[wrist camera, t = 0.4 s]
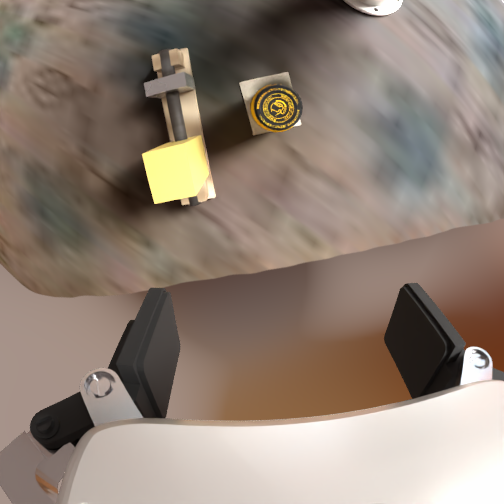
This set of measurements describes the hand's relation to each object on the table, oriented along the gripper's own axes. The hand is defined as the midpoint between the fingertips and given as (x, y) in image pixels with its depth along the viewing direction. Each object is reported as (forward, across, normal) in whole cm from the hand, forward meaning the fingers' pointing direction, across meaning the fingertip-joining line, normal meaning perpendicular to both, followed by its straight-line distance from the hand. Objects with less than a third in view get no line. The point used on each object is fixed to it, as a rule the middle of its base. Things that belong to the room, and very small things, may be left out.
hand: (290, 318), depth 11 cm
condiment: (+35, -2, -10) cm, 36 cm away
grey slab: (+35, +12, -13) cm, 39 cm away
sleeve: (+33, +10, -2) cm, 35 cm away
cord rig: (+35, +11, -7) cm, 37 cm away
